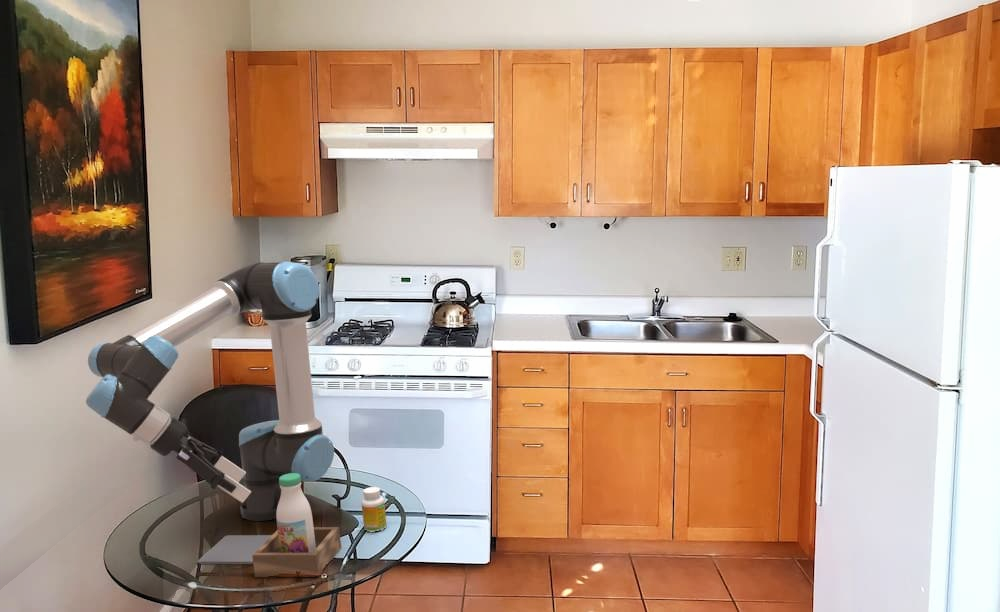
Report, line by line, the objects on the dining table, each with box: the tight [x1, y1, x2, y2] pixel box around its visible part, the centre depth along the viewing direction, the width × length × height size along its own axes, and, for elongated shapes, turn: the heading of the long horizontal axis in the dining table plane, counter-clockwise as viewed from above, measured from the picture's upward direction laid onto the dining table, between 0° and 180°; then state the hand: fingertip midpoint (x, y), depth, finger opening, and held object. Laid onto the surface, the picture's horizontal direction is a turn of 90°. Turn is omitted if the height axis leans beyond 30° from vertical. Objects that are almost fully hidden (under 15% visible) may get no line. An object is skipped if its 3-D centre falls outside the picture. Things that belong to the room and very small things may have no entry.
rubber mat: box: [196, 534, 273, 565], centre depth 197 cm, size 14×14×1 cm
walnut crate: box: [252, 526, 342, 578], centre depth 188 cm, size 14×14×5 cm
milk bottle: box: [275, 473, 316, 553], centre depth 187 cm, size 8×8×20 cm
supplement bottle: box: [361, 486, 387, 533], centre depth 203 cm, size 5×5×10 cm
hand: (244, 487), depth 182 cm, fingers open, 13 cm apart
